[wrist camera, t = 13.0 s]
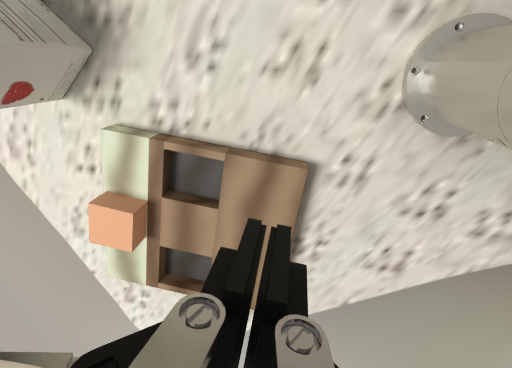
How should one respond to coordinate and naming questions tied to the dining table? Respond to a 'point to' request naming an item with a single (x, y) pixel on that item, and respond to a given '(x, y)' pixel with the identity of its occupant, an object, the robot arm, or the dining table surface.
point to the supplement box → (36, 54)
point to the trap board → (194, 203)
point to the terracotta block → (117, 221)
